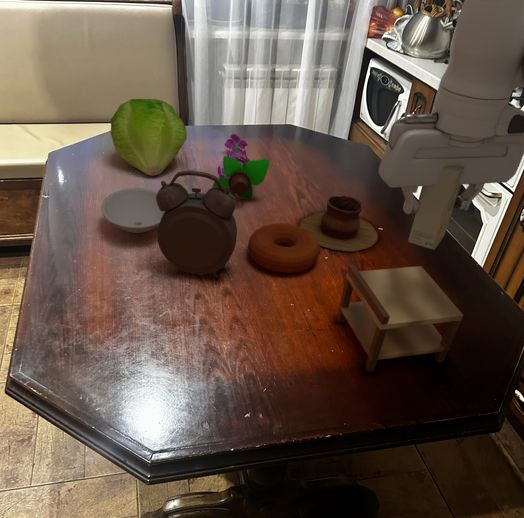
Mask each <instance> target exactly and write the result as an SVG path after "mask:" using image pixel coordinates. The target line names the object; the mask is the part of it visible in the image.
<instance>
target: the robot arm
mask: <svg viewBox="0 0 524 518" xmlns="http://www.w3.org/2000/svg"><path fill="white" fill-rule="evenodd" d="M518 88H524V0H464V1H463V4H462V6H461V9H460V12H459V15H458V18H457V21H456V25H455V28H454V31H453V34H452V38H451V41H450V47H449V59H448V63H447V68H446V69H445V71H444V72H443V75H442V77H441V79H440V81H439V84H438V88H437V91H436V95H435V99H434V102H433V106H432V110H431V112H429V113H428V112H427V113H411V112H410V113H406V114H404V115H403V116H402V117H400V118H398V119H397V120H395V122H393V123H392V124H391V127H390V130H389V134H388V138H387V144H386V146H385V148H384V151H383V154H382V157H381V160H380V163H379V167H378V175H379V177H380V178H381V180H382V181H383V183H385V184H386V185H387V187H389V188H392V189H393V188H401V191H402V194H403V197H404V202H403V206H402V210H403V212H404V213H405V214H406V215H413V214H414V215H415V214H416V213H417V211H418V210H417V209H418V208H419V205H420V203H419V201H418V200H417V199H416V198H415V197H414V194H417V192H418V189H419V187H423V186H435V185H436V184H437V182H438V180H439V177H440V174H441V171H442V168H444V167H464V170H463V173H462V176H461V179H460V182H459V185H460V184H461V185H468V186H467V187H466V189H464V191H463V192H462V193H461V194H460V195H459V194H458V196H457V199H456V202H455V205H454V208H453V209H454V210H456V211H457V212H464V211H465V212H466V211H468V210H469V208H470V205H471V202H472V201H473V200H474V199H475V198H476V197H477V196H478V195H479V194H480V193H481V192H482V191H483V189H484V187H485V184H501V183H507V182H509V181H510V180H511V179H512V178H513V177H515V176H516V174H517V172H518V169H519V167H520V165H521V163H522V159H523V157H524V110H523V109H521V108H519V107H517V106H515V104H513V103H511V102H509V101H510V99H511V95H512V93H513V91H514V90H515V89H518Z"/></svg>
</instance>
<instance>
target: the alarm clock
mask: <svg viewBox="0 0 524 518" xmlns="http://www.w3.org/2000/svg"><path fill="white" fill-rule="evenodd" d="M185 176H194V177H200V178H207V179H208V180H211V181H213V182H216V184H217V185H218V187H213V188H212V187H211V188H210V189H208V190H207V191H206V192H205V193H201V192H202V189H201V188H197V187H192V188H191V193H189V192H188V190H187V189H186V188H185V187H184V186H183V185H182V184H180V183H178V182H176V180H177V179H178V178H180V177H185ZM160 185H161V187H160V189H159V190H158V191H157V192H158V193H157V196H156V201H157V204H158V207H159V209H160V211H165V212H164V214H163V216H162V218H161V221H160V224H159V225H158V226H157V232H156V239H157V244H158V247H159V250H160V251H161V253H162V255H163V256H164V258H165V259H166V260H167V261H168V262H169V263H170V264H171V265H172V266H174V267H175V269H174V270H173V272H174V273H178V270H180V271H183V272H185V273H188V274H191V275H209V274H213V275H214V277H215V278H216V279H218V278H219V275H218V273H217V272H218V271H219V270H222V269H225V266H226V265H227V263H228V262H229V260H230V259H231V256H232V255H233V253H234V251H235V248H236V244H237V236H238V227H237V221H236V219H235V216H234V212H235V209H236V205H237V203H236V202H237V201H236V199H235V196H233V195H232V194H231V192H230V187H226V189H225V188H224V187H223V185H222V183H221V182H220V180H219V177H217V176H216V175H214V174H211V173H209V172H205V171H199V170H182V171H177V172H176V173H175V175H174V176H173V178H172V179H171V181H170V183H167V182H166V181H165V180H161V181H160Z"/></svg>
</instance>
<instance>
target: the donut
mask: <svg viewBox="0 0 524 518" xmlns="http://www.w3.org/2000/svg"><path fill="white" fill-rule="evenodd" d="M247 249H248V250H247V251H248V253H249V255H250V257H251V258H252V260H253V261H254V262H255V263H256V264H258V265H259V266H260V267H261V268H264V269H266V270H267V271H268V270H269V271H272V272H276V273H282V274H291V273H299V272H302V271H306V270H307V269H309V268H310V267H313V265H314V264H316V262H317V261H318V259H319V256H320V254H321V250H320V249H321V248H320V245H319V243H318V241H317V239H316V238H315V236H314V235H313V234H312V233H310V232H309V231H308V230H305V229H303V228H301V227H300V225H299V226H298V225H295V224H291V223H271V224H270V223H269V224H267V225H263V226H260V227H259V228H256V230H254V232H253V233H252V234H251V235H250V236H249V239H248V243H247Z"/></svg>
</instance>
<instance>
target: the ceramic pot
mask: <svg viewBox="0 0 524 518" xmlns="http://www.w3.org/2000/svg"><path fill="white" fill-rule="evenodd" d="M363 207H364V206H363V203H362V202H361V201H360V200H358V199H356V198H355V197H353V196H349V195H347V196H346V195H340V196H339V195H334V196H333V195H332V196H329V197H328V198H327V201H326V210H325V211H324V212H319V213H313V214H312V215H308V216H307V217H305V218H304V219H302V221H301V222H300V223H299V227H301V228H303V229H305V230H308V231H309V232H310V233H312V234H313V235H314V236H315V238H316V239H317V241H318V243H319V247H322V248H323V247H324V248H327V249H330V250H336V251H342V252H358V251H361V250H367V249H369V248H370V247H372V246H373V245H375V244H376V242H377V240H378V239H379V234H378V231H377V230H375V227H373V225H372V223H370V222H368V221H367V220H365V219H363V218H361V217H360V213H361V211H362V210H363Z"/></svg>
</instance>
